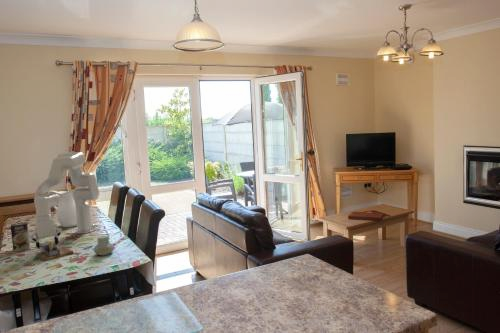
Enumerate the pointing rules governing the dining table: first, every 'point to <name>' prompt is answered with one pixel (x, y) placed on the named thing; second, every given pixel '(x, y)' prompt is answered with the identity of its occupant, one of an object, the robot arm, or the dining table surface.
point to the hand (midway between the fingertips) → (47, 246)
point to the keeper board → (63, 252)
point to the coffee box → (20, 236)
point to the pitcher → (66, 209)
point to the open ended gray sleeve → (45, 249)
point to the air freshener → (103, 246)
